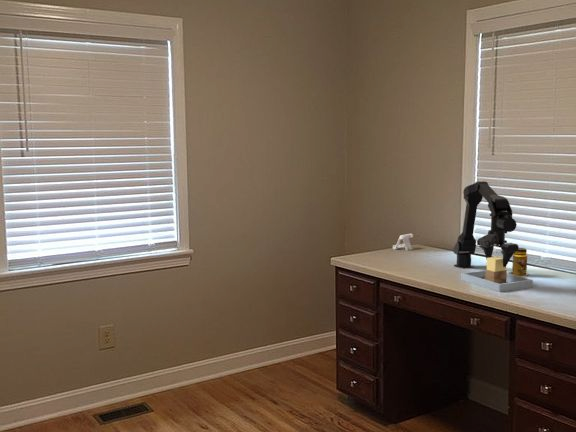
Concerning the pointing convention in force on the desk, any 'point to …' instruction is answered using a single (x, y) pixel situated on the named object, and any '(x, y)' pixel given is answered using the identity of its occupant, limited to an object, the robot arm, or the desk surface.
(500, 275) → the walnut block
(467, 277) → the gray tray
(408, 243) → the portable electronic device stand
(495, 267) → the mustard box
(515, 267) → the condiment
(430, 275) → the desk surface
